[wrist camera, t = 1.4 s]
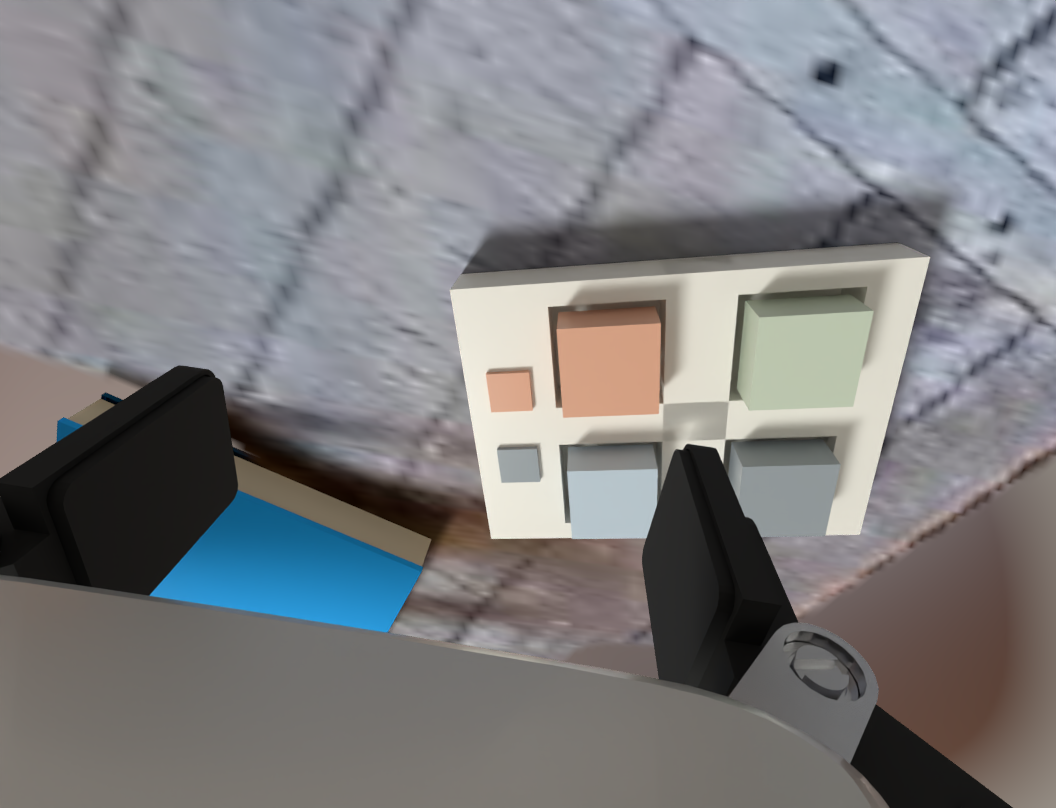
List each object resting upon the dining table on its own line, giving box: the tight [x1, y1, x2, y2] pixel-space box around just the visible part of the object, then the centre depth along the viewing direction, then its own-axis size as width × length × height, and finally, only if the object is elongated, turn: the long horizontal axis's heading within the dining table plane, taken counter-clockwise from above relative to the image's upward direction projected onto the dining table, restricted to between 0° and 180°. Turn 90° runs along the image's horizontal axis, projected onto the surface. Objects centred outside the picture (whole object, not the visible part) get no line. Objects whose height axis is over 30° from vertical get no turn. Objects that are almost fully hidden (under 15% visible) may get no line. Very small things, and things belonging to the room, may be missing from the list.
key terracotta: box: [556, 306, 661, 418], centre depth 28 cm, size 5×5×2 cm
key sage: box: [737, 294, 874, 411], centre depth 27 cm, size 5×5×2 cm
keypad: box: [450, 243, 930, 539], centre depth 32 cm, size 23×17×3 cm
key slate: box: [728, 439, 841, 537], centre depth 31 cm, size 5×5×2 cm
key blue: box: [567, 444, 658, 539], centre depth 32 cm, size 5×5×2 cm
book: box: [57, 392, 431, 633], centre depth 41 cm, size 17×4×25 cm
